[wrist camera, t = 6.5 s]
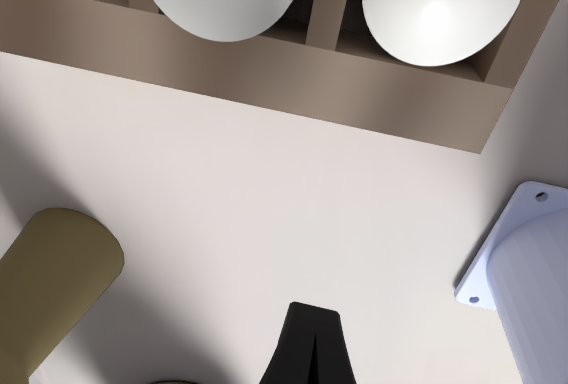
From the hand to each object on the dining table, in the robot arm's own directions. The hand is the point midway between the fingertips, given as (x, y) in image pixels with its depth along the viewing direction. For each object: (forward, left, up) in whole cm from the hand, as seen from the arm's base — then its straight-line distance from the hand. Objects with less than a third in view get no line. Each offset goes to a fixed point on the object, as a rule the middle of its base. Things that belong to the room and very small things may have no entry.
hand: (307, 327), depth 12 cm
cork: (+13, +10, -10) cm, 19 cm away
